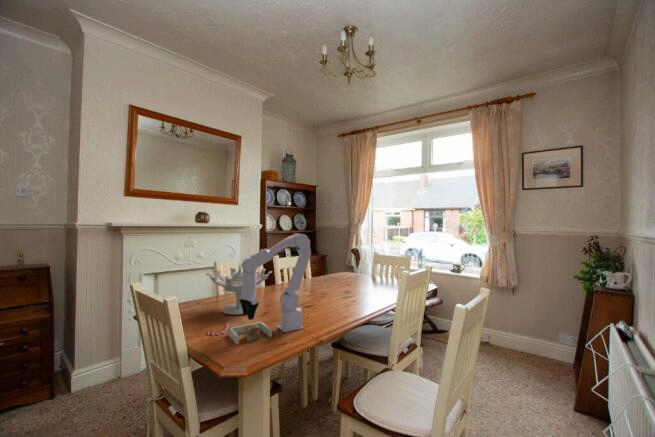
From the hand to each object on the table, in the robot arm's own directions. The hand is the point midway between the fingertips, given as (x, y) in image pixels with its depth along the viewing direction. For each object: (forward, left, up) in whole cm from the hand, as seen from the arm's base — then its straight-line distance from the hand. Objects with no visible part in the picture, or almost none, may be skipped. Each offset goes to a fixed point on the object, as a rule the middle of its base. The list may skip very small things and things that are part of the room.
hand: (248, 317), depth 129 cm
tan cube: (0, +5, -8) cm, 9 cm away
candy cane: (+9, -12, -8) cm, 17 cm away
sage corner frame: (0, +3, -7) cm, 8 cm away
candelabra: (-7, -35, -8) cm, 36 cm away
